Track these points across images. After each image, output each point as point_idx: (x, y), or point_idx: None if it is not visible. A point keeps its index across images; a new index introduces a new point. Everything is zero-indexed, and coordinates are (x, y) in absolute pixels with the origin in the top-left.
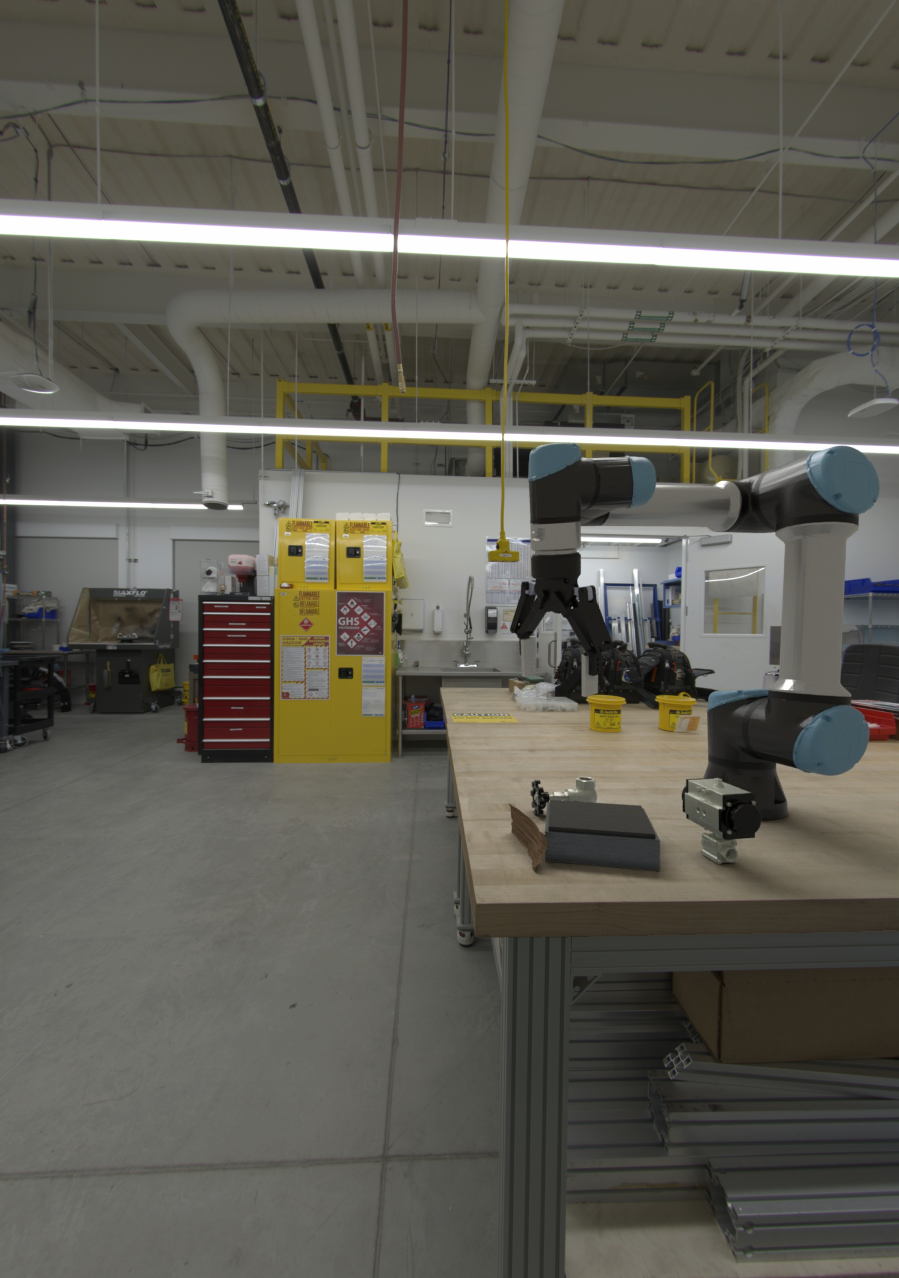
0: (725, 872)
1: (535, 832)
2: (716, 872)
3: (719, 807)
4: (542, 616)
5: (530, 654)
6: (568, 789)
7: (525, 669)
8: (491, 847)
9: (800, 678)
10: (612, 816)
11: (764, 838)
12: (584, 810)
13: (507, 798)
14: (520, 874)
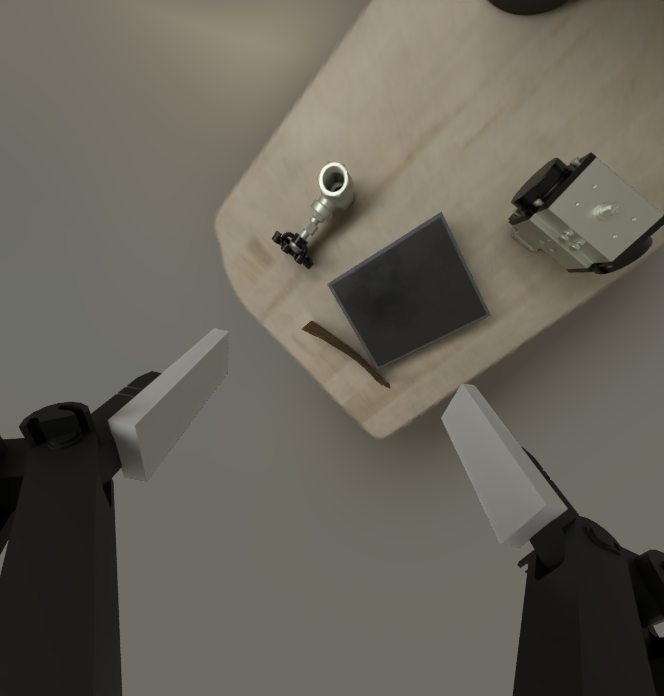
0: (539, 265)
1: (362, 362)
2: (530, 272)
3: (588, 260)
4: (98, 666)
5: (190, 397)
6: (319, 211)
7: (216, 384)
8: (322, 365)
9: None
10: (423, 290)
11: (588, 95)
12: (385, 293)
13: (235, 224)
14: (373, 393)
